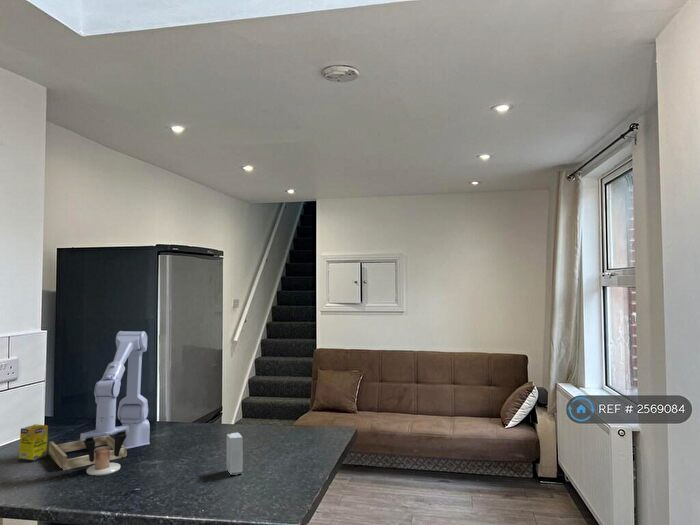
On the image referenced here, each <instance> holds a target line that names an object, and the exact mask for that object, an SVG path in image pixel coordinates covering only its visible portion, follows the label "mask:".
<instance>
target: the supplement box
mask: <svg viewBox="0 0 700 525" xmlns="http://www.w3.org/2000/svg"><path fill="white" fill-rule="evenodd" d="M48 428H49V426H48V425H46V424H36V423H35V424H32V425H29V426H26V427H22V428H20V433H19V434H20V435H19V437H20V438H19V449H18V450H19V451H18V452H19V453H18V461H21V462H29V461H31V462H30V463H34V462H35V461H38V460H40V458H41V459H42V458H46V457H47V451H48V450H47V448H48V433H49V431H48V430H49V429H48ZM33 461H34V462H33Z"/></svg>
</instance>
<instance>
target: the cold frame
mask: <svg viewBox="0 0 700 525" xmlns="http://www.w3.org/2000/svg"><path fill="white" fill-rule="evenodd" d="M93 439H94V441H95V447H101V446H109V447H111V451H110V461H113V460H117V459H123V458H127V457H126V456H127V455H128V451H127V450H128V449H127V448H126V447H125V446H123V445H122V446H121V449H120V452H119V456H117V457H116V456H115V455H114V448H115V438H113V437H112V436H111V435H109V436H103V437H98V438H93ZM83 449H87V448H86V445H85V443H84V442H83V441H82V440H80V439H79V440H76V441H69V442H64V443H58V444H56V443H55V442H54V441H53V440H52V441H49V442H48V456H49V455H50V456H51V457H50V456H49V457H50V458H51V459H52V460H53V462H54V463H56V464H57V466H59V468H62V469H63V470H62V469H61V470H62V471H67V470H71V469H75V468H76V469H77V468H81V467H85V466H89V465H95V453H94V462H91V461H90V460H89V454H86V455H82V456H77V457H73V458H68V455H67V454H66V453H68V452H73V451H78V450H79V451H80V450H83ZM122 457H123V458H122Z"/></svg>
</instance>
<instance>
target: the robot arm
mask: <svg viewBox="0 0 700 525" xmlns="http://www.w3.org/2000/svg"><path fill="white" fill-rule="evenodd" d="M115 345H116V352H115V355H114V358H113V360H112V362H109V363H108V365H107V366H106V369H105V370H104V373H103V375H102V378H101V379H100V380H99V381H97V382H96V383H95V386H94V391H93V395H94V397H95V401H94V402H95V404H96V419H95V423H96V424H95V429H93V430H90V431H86V432H82V433H80V434H79V435H80V436H79V441H80V440H82V441H83V442H84V443H85V445H86V448H85V449H87V453H88V454H87V455H89V460H90V461H91V462H94V454H95V453H94V449H95V448H96V446H95V441H94V439H93V438H98V437H103V436H113V435H114V438H113V439H115V448H114V455H115V456H116V457H117V456H119V452H120V449H121V446H122V445H123V446H125V447H126V448H127V450H129V449H133V448H137V447H142V446H148V445H150V444H151V443H150V433H151V432H150V430H151V427H150V426H151V425H150V422H149V420H148V419H147V418H148V415H149V405H148V399H147V398H146V397H145V396H143V395H142V394H141V383H142V366H143V365H142V364H143V363H142V360H143V353H145V352H147V351H148V350H147V348H148V334H147V333H146V331H143V330H142V331H130V330H129V331H127V330H126V331H123V330H120V331H118V332H117V333H116V336H115ZM126 361H128V362H127V374H126V375H127V379H126V396H125V397H123V398H122V399H120V401H119V404H118V409H117V397H118V396H119V394H120V391H121V390H120V388H121V385H122V382H121V380H122V378H123V376H124V372H125V371H126V367H125V363H126ZM116 412H117V414H116ZM116 415H117V419H118V420H119V421H120V423H121V425H120V426H116Z"/></svg>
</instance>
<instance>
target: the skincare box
mask: <svg viewBox="0 0 700 525" xmlns="http://www.w3.org/2000/svg"><path fill="white" fill-rule="evenodd" d="M243 438H244V437H243V436H242V435H241V434H240V433H239V432H232V433H227V434H226V471H227V470H228V472H229V473H230V474H232V473H238V472H242V471H243V468H244V467H243V466H244V464H243V457H244V456H243V451H244V450H243V448H244V447H243V445H244V444H243ZM228 472H227V473H228ZM243 472H244V471H243ZM229 473H228V474H229Z"/></svg>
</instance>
